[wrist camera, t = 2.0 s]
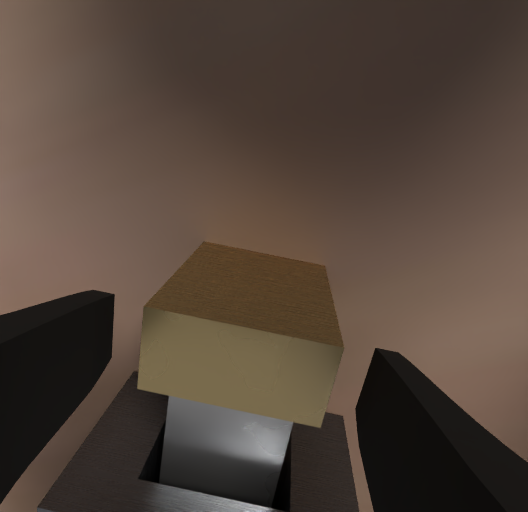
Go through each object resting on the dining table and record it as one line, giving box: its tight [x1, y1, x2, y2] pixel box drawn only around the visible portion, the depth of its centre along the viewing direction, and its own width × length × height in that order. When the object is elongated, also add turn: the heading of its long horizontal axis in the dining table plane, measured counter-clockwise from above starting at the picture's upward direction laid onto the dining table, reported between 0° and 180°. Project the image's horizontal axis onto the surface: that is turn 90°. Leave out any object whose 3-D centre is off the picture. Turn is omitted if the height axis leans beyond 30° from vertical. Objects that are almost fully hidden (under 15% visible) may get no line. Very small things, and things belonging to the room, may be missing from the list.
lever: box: [137, 242, 344, 508], centre depth 13 cm, size 11×5×6 cm, turn 170°
